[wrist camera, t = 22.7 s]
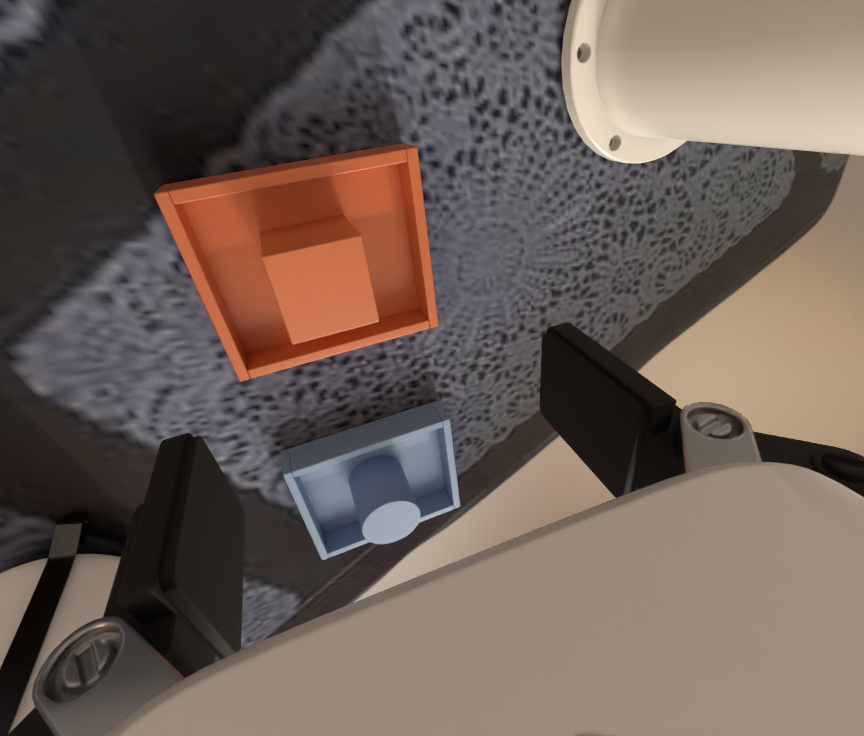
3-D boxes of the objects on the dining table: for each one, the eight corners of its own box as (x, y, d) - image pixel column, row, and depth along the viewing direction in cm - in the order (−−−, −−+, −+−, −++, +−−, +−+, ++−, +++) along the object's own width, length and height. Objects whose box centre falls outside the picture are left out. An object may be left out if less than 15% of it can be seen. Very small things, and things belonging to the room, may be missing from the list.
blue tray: (438, 399, 33) (450, 418, 31) (449, 486, 39) (460, 506, 37) (280, 450, 30) (282, 475, 28) (317, 535, 36) (322, 560, 34)
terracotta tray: (403, 142, 23) (417, 146, 21) (425, 310, 29) (438, 325, 27) (162, 184, 20) (152, 193, 18) (240, 360, 26) (239, 382, 24)
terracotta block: (344, 214, 23) (362, 234, 20) (361, 291, 26) (380, 321, 22) (259, 231, 22) (261, 257, 19) (285, 310, 25) (292, 345, 21)
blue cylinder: (397, 448, 34) (416, 492, 30) (405, 484, 36) (424, 530, 32) (343, 466, 33) (355, 515, 29) (355, 503, 35) (368, 552, 31)
